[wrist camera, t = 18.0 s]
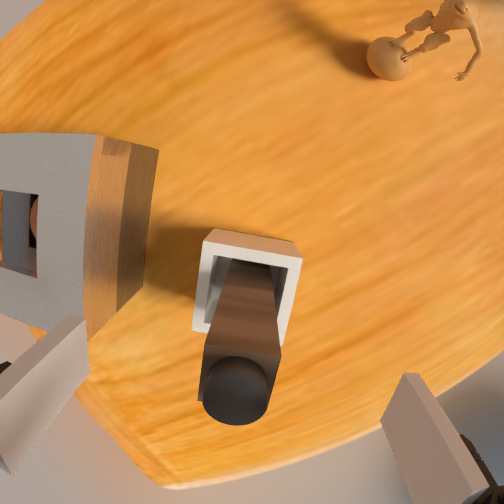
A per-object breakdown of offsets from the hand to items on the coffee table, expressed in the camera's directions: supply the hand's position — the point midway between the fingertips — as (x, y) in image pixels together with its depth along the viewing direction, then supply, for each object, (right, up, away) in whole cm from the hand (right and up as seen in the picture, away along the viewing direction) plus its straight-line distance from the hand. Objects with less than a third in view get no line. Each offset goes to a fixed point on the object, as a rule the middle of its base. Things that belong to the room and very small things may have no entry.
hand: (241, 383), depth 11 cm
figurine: (+13, +22, +11) cm, 27 cm away
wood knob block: (0, +3, +15) cm, 15 cm away
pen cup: (0, +3, +15) cm, 16 cm away
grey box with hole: (-14, +9, +14) cm, 22 cm away
